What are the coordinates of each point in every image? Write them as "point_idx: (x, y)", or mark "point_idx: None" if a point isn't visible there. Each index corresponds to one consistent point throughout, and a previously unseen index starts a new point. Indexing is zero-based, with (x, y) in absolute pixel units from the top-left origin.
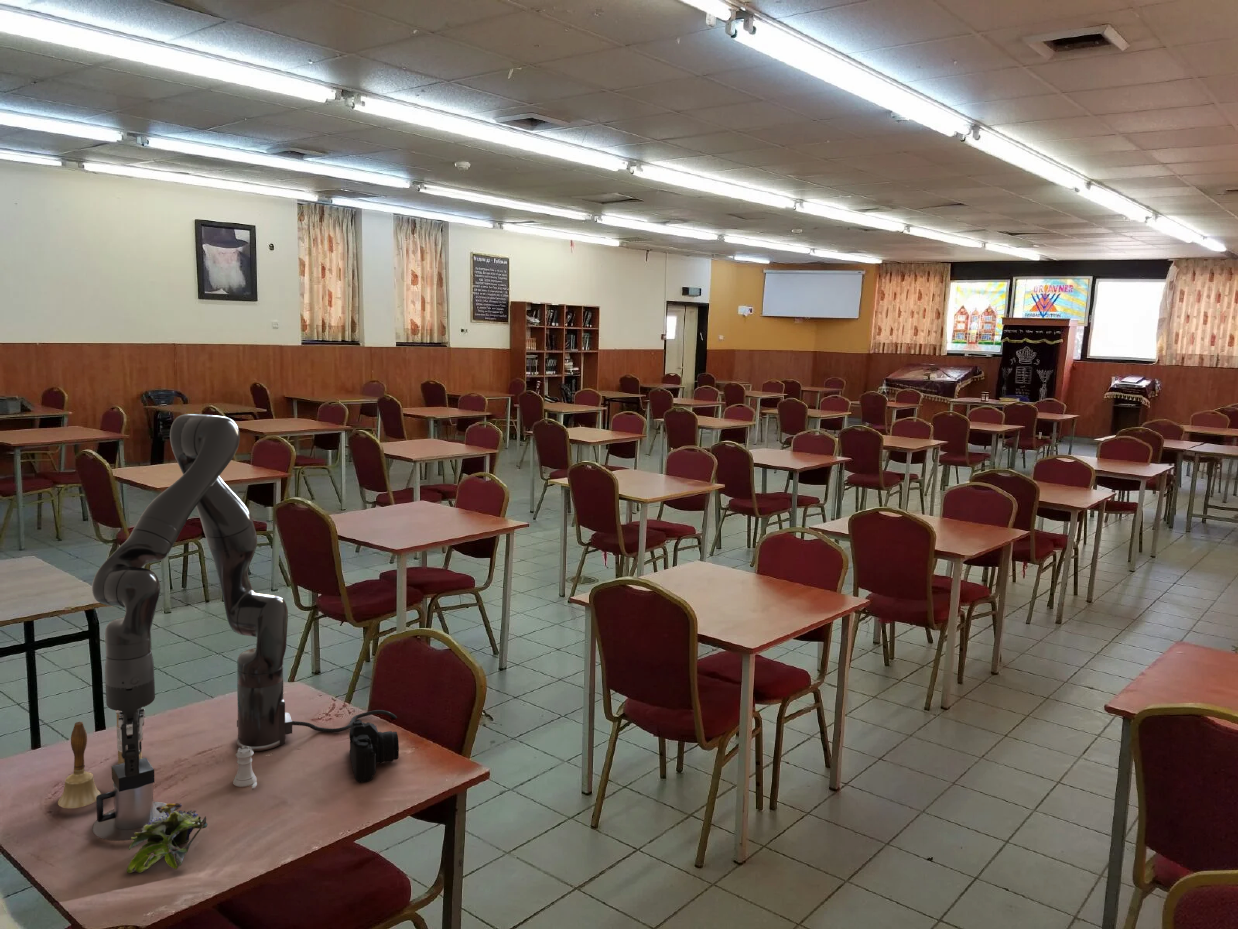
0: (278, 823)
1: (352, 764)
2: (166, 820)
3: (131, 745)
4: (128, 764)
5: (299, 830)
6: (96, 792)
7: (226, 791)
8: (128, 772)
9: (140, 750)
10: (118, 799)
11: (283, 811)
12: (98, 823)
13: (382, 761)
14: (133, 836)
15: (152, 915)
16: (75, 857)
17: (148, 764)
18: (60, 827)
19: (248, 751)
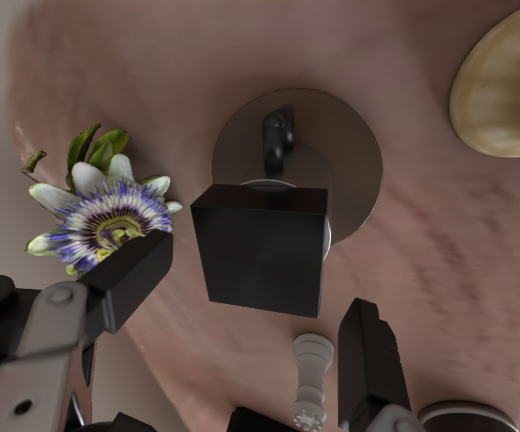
0: (187, 322)
1: (273, 428)
2: (59, 228)
3: (353, 340)
4: (97, 268)
5: (161, 328)
6: (509, 138)
7: (321, 325)
8: (125, 244)
9: (338, 335)
10: (249, 172)
11: (214, 338)
12: (327, 110)
13: None
14: (222, 164)
15: (14, 131)
16: (227, 34)
17: (254, 304)
18: (422, 7)
19: (300, 420)
